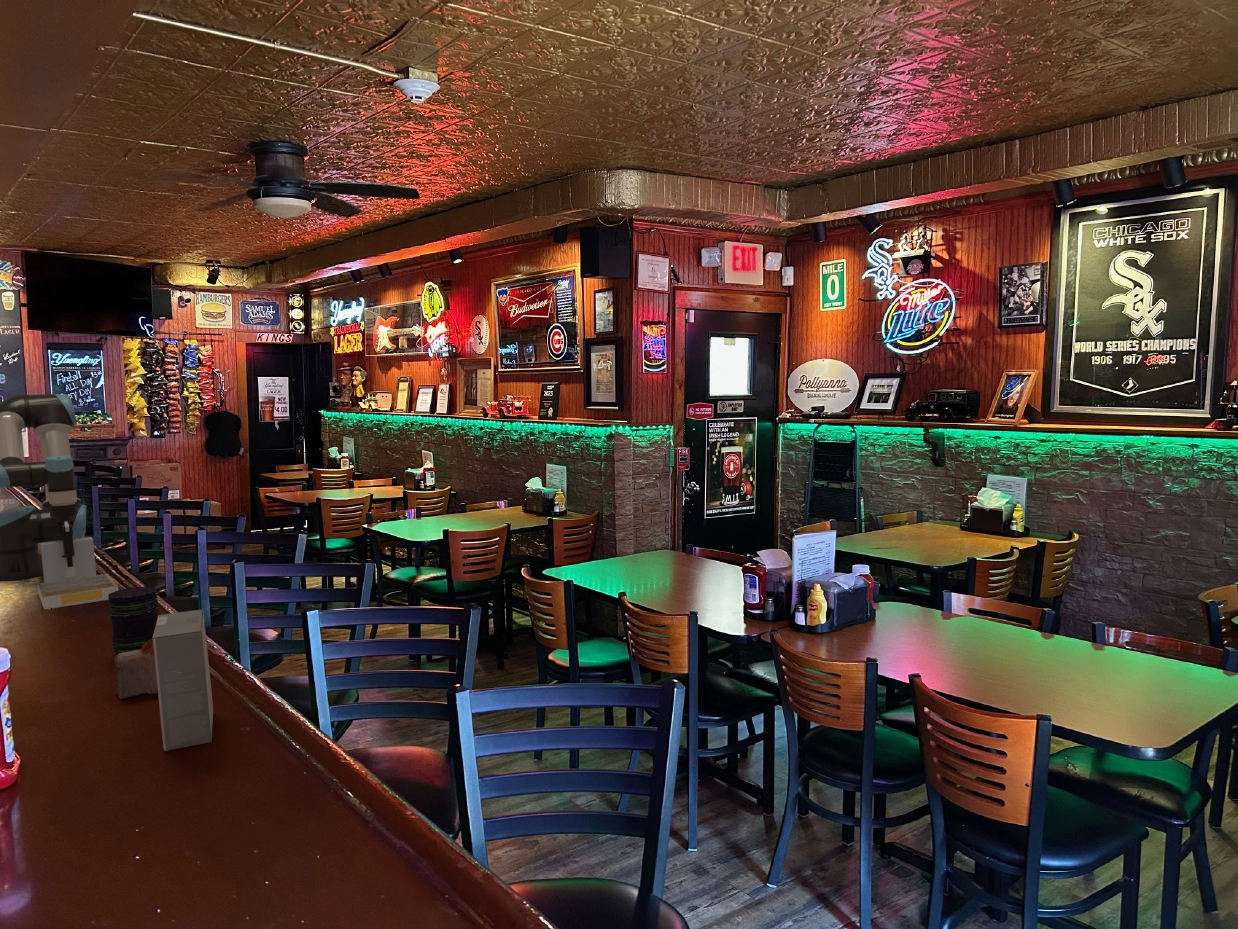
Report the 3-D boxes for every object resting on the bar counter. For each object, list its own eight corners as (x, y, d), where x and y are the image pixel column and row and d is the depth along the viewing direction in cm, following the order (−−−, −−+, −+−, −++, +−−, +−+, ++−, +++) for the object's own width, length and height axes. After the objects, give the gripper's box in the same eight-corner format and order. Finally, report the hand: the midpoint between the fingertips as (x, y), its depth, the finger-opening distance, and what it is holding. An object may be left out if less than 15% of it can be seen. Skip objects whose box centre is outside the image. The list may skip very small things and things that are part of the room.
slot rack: (38, 594, 262) (37, 582, 262) (108, 584, 274) (107, 573, 273) (44, 610, 243) (42, 597, 243) (119, 598, 254) (118, 586, 254)
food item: (188, 676, 181) (185, 631, 180) (196, 686, 175) (192, 639, 174) (114, 692, 173) (110, 644, 172) (119, 703, 167) (114, 654, 166)
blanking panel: (44, 586, 275) (40, 543, 273) (95, 578, 283) (91, 537, 282) (45, 588, 271) (41, 545, 269) (96, 581, 279) (92, 539, 278)
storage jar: (107, 664, 191) (101, 599, 189) (120, 651, 200) (114, 589, 199) (156, 659, 193) (151, 594, 192) (167, 647, 203) (161, 585, 201)
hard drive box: (167, 720, 157) (158, 614, 155) (213, 712, 160) (205, 608, 158) (162, 752, 143) (151, 636, 141) (212, 743, 146) (203, 629, 144)
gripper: (47, 502, 279) (54, 572, 281) (51, 508, 265) (58, 581, 267) (74, 500, 284) (80, 569, 286) (79, 505, 269) (86, 577, 272)
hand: (70, 575), depth 276 cm, fingers closed on blanking panel, 5 cm apart
